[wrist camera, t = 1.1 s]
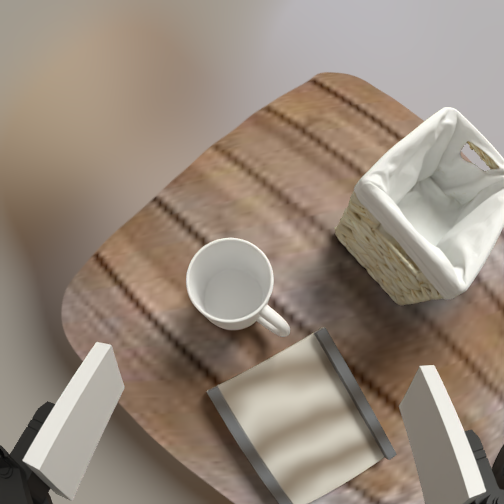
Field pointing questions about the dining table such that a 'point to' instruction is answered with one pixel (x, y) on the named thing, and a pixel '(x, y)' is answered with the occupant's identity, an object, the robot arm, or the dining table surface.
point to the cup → (234, 286)
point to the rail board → (302, 420)
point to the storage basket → (427, 212)
